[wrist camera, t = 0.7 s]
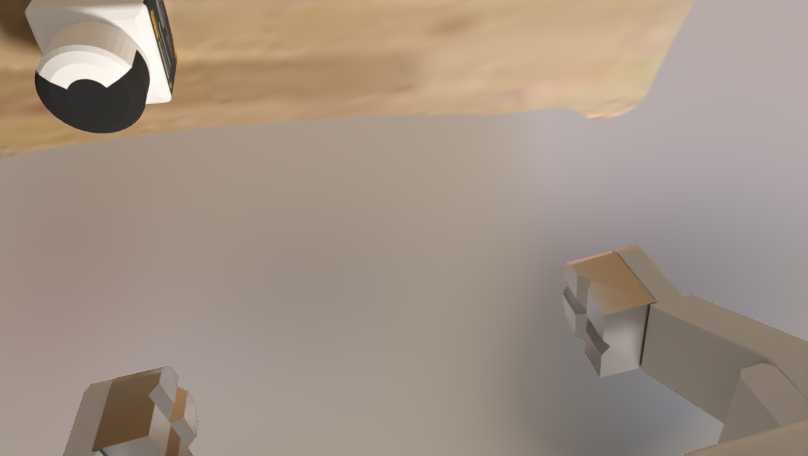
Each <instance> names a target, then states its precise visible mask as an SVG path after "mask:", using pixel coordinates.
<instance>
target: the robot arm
mask: <svg viewBox="0 0 808 456" xmlns="http://www.w3.org/2000/svg"><path fill="white" fill-rule="evenodd" d="M563 279H564V280H565V282H566V283H567V285H568V286H567V288H566V289H565V291H564V292H563V307H564V311H565V316H566V319H567V321H568V323H569V326H570V328H571V329H572V331H573V333H574V335H575V336H576V337H578V338H580V339H582V340H584V341H585V354H586V355H587V357H588V358H589V360H590V362H591V363H592V365H593V367H594V368H595V370H596V372H597V374H598V375H599V377H604V376H608V375H613V374H617V373H621V372H625V371H629V370H634V369H638V368H641V370H642V371H643V372H645V373H646V374H648V375H649V376H651V377H652V378H654V379H656V380H657V381H659V382H660V383H662V384H664V385H665V386H666V387H668V388H670V389H671V390H673V391H674V392H676V393H677V394H679V395H680V396H682V397H683V398H685V399H687V400H688V401H690V402H692V403H693V404H694V405H696V406H697V407H699V408H701V409H702V410H704V411H705V412H707V413H708V414H710V415H711V416H713V417H714V418H716V419H718V420H719V421H721V422H722V423H724V426H723V429H722V432H721V435H720V438H719V441H718V444H717V445H713V446H709V447H706V448H702V449H698V450H695V451H691V452H688V453H684V454H681V455H677V456H808V342H807V341H805V340H802V339H800V338H797V337H795V336H793V335H790V334H788V333H785V332H783V331H780V330H777V329H775V328H773V327H770V326H768V325H765V324H763V323H761V322H758V321H755V320H753V319H751V318H748V317H746V316H743V315H741V314H738V313H735V312H733V311H731V310H728V309H726V308H724V307H721V306H719V305H716V304H714V303H711V302H709V301H706V300H704V299H701V298H699V297H696V296H694V295H691V294H690V295H685V296H683V295H682V293H681V292H680V291H679V290H678V289H677V288H676V287H675V286H674V284H673V283H672V282H671V281H670V280H669V279H668V278H667V277H666V275H665V274H664V273H663V272H662V271H661V270H660V268H659V267H658V266H657V265H656V264H655V263H654V262H653V261H652V259H651V258H650V257H649V256H648V255H647V254H646V253H645V252H644V250H643V249H642V248H641V247H640V246H638V245H636V244H634V245H630V246H627V247H623V248H619V249H616V250H612V251H609V252H605V253H601V254H598V255H593V256H590V257H586V258H582V259H579V260H575V261H571V262H567V263H565V265H564V267H563ZM177 383H178V376H177V374H176V373H175V372H174V370H173V369H172V368H171V367H161V368H158V369H153V370H149V371H145V372H140V373H136V374H132V375H127V376H123V377H119V378H116V379H112V380H108V381H103V382H99V383H95V384H91V385H90V386H89V387H88V388H87V389H86V390H85V392H84V395H83V397H82V400H81V403H80V406H79V409H78V412H77V415H76V418H75V421H74V424H73V428H72V430H71V434H70V436H69V439H68V442H67V445H66V448H65V451H64V454H63V456H193V455H192V453H191V452H190V450H189V449H188V447H189V446H190V444H191V443H192V442H193V440H194V439H195V438H196V435H197V426H198V421H197V412H196V407H195V404H194V401H193V399H192V397H191V396H190V394H189V392H188V391H187V390H184V389H182V388H179V387H177Z"/></svg>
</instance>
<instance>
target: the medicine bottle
mask: <svg viewBox="0 0 808 456" xmlns="http://www.w3.org/2000/svg"><path fill="white" fill-rule="evenodd" d="M25 15H26V18H27V20H28V22H29V25H30V27H31V29H32V32H33V34H34V36H35V39H36V41H37V43H38V46H39V48H40V51H41V53H42V55H43V57H42V59H41V61H40V62H39V64H38V67H37V69H36V73H35V86H36V90H37V93H38V95H39V97H40V99H41V101H42V102H43V104H44V105H45V107H46V108H47V109H48V110H49V111H50V112H51V113H52V114H53V115H54V116H56V117H57V118H58V119H60V120H61V121H63V122H64V123H66V124H68V125H70V126H72V127H74V128H77V129H80V130H83V131H87V132H92V133H113V132H117V131H121V130H123V129H126V128H128V127H130V126H131V125H133V124H134V123H135V122H136V121H137V120H138V119H139V118H140V116H141V115H142V113H143V111H144V108H145V104H151V103H164V102H169V101H170V100H171V98H172V91H173V84H174V78H175V71H176V64H177V53H176V49H175V45H174V41H173V37H172V33H171V29H170V25H169V21H168V17H167V13H166V9H165V5H164V1H163V0H32V1H31V2H30V4H29V5H28V7H27V8H26V10H25Z"/></svg>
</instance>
